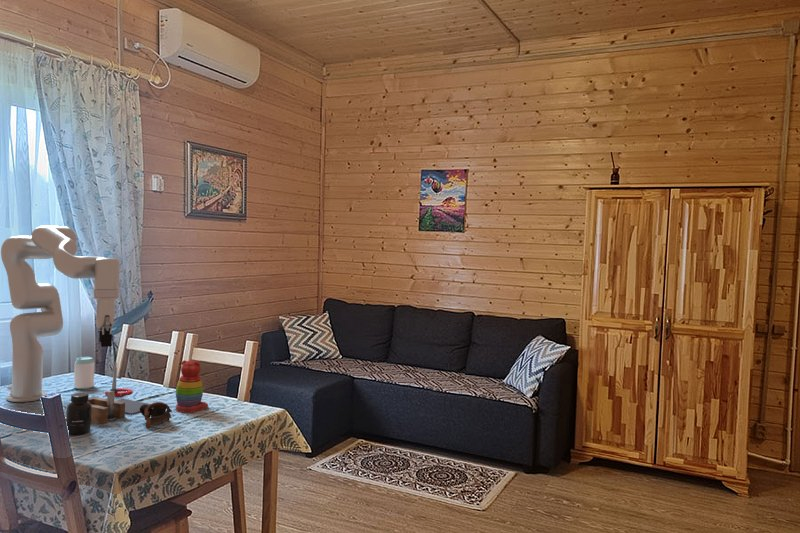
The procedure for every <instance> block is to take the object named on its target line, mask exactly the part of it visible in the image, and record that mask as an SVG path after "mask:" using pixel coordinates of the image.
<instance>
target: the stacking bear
mask: <svg viewBox="0 0 800 533" xmlns="http://www.w3.org/2000/svg"><path fill="white" fill-rule="evenodd" d="M201 369H202V368H201V363H200V362H199V361H198V360H197V361H195V360H182V361H181V367H180V372H181V376H180V377H179V379H178V381H177V385H176V387H175V397H176V404H175V411H177V412H179V413H194V412H195V413H196V412H199V411H203V410H206V409H207V408H208V407H209V404H208V403H207V402H205V401H202V398H203V395H204V388H203V387H204V386H203V381H202V378H201V377H200V374H201V373H200V372H201ZM205 408H206V409H205Z"/></svg>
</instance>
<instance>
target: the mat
mask: <svg viewBox="0 0 800 533" xmlns="http://www.w3.org/2000/svg"><path fill="white" fill-rule="evenodd" d="M115 401H119V402H124V403H125V415H126V414H127V415H130V414H131V415H132V414H133V415H136V414H139V413H141V412H140V407H141V406H142V405H143V404H147V405H150V404H151V403H148V402H142V401H137V400H131V399H126V398H120V399H116V400H115ZM152 409H154V407H153V408H152ZM133 415H132V416H133Z"/></svg>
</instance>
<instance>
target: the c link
mask: <svg viewBox="0 0 800 533" xmlns="http://www.w3.org/2000/svg"><path fill="white" fill-rule="evenodd" d="M88 398H89V400H88V402H89V403H91V405H92V409H91V423H95V424H100V425H104V424H108V422H109V421H108V407H107V398H103V397H96V396H91V397H88ZM114 416H115V417H117V419H123V418H126V414H125V403H124V402H119V401H116V400H114Z"/></svg>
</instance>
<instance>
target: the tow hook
mask: <svg viewBox="0 0 800 533" xmlns="http://www.w3.org/2000/svg"><path fill="white" fill-rule="evenodd" d="M117 364H118V362H115V361H114V368H113V372H112V375H113V376H112V383H111V388H110V390H107V391H115V397H122V396H124V395H130V393H131V394H132V393H133V390H132V389H131V388H130V389H129V388H117V374H118V373H117V372H118V368H117ZM107 391H105V392H104V395H105V396H107ZM126 391H127V392H126Z"/></svg>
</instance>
